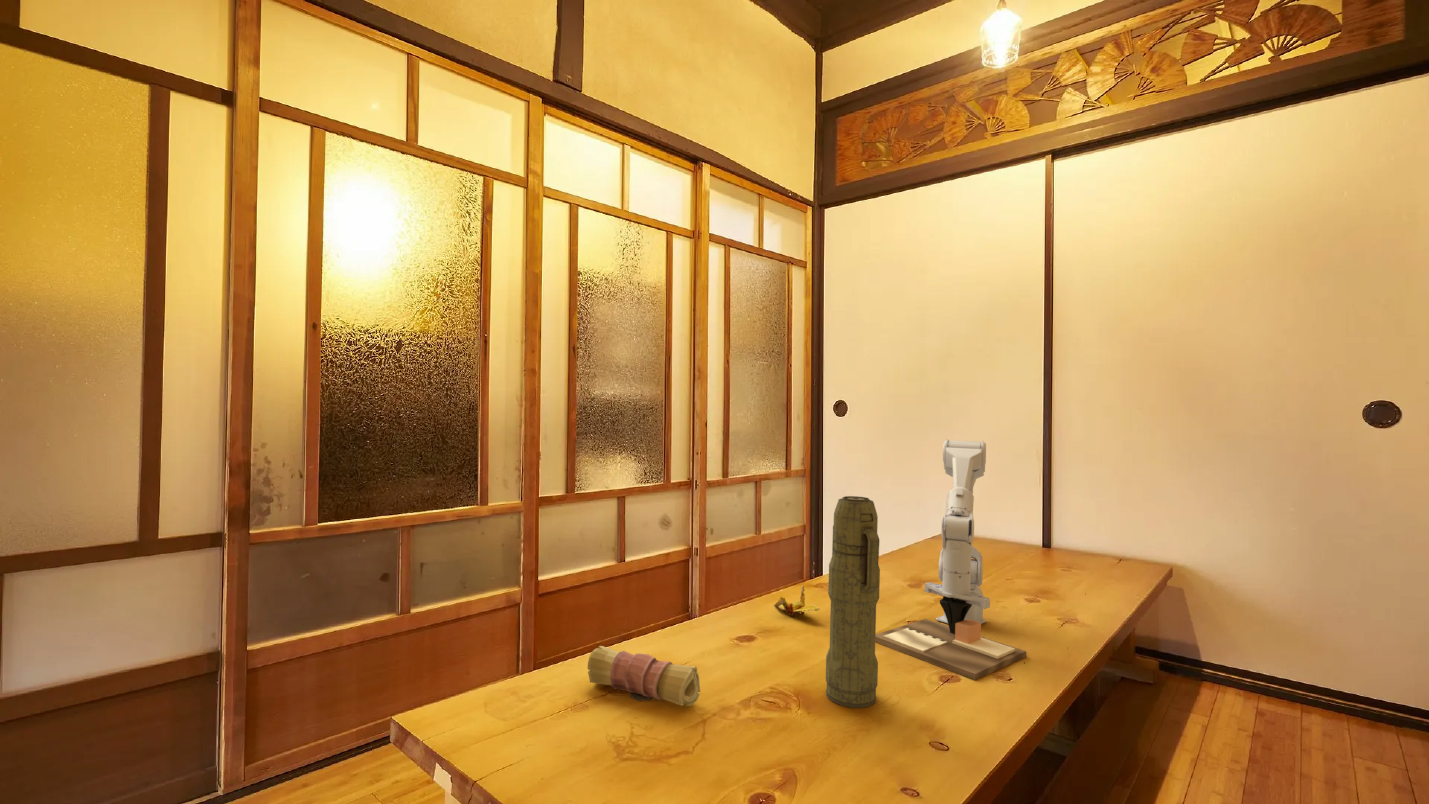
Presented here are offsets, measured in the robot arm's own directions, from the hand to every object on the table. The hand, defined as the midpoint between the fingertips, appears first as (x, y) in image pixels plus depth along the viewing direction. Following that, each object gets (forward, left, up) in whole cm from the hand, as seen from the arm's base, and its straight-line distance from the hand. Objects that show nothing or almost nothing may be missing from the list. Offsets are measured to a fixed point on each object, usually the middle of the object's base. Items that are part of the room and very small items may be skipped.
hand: (955, 632), depth 138 cm
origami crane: (+16, -33, -3) cm, 37 cm away
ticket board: (+4, +1, -2) cm, 5 cm away
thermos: (+39, +4, -3) cm, 39 cm away
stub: (0, +7, -1) cm, 7 cm away
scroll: (+68, -18, -3) cm, 71 cm away
